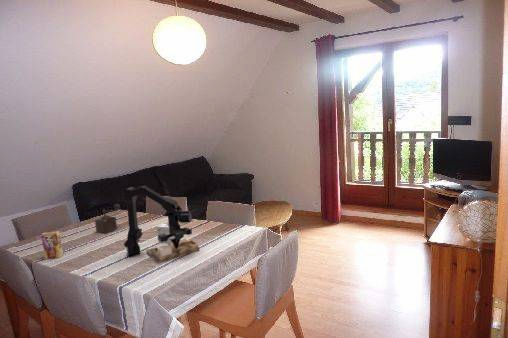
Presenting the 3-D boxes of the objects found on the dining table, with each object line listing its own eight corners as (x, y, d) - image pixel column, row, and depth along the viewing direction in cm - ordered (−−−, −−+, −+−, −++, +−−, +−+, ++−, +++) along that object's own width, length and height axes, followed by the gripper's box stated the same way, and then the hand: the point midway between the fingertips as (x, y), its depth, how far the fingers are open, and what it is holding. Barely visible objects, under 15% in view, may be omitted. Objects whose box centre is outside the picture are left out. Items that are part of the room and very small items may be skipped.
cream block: (161, 256, 198) (160, 250, 198) (157, 253, 203) (157, 247, 203) (171, 253, 202) (171, 247, 201) (167, 250, 207) (167, 244, 206)
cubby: (180, 252, 203) (179, 249, 202) (173, 247, 211) (173, 244, 210) (198, 247, 209) (198, 244, 209) (191, 242, 217) (190, 239, 217)
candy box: (63, 254, 216) (59, 230, 214) (60, 257, 212) (56, 233, 210) (48, 256, 216) (44, 232, 213) (44, 259, 211) (40, 234, 209)
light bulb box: (178, 239, 230) (176, 223, 228) (173, 243, 224) (171, 226, 222) (163, 238, 233) (161, 223, 231) (158, 242, 227) (156, 226, 225)
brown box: (106, 234, 250) (103, 209, 247) (95, 232, 255) (92, 208, 252) (123, 227, 263) (120, 203, 260) (113, 225, 269) (110, 202, 266)
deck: (158, 263, 195) (157, 257, 194) (146, 253, 210) (145, 247, 210) (199, 250, 209) (198, 245, 208) (185, 242, 224) (185, 236, 224)
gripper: (163, 230, 192) (166, 257, 195) (194, 222, 202) (197, 248, 205) (155, 225, 201) (159, 251, 204) (186, 217, 211) (189, 242, 214)
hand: (176, 248), depth 206 cm, fingers closed
